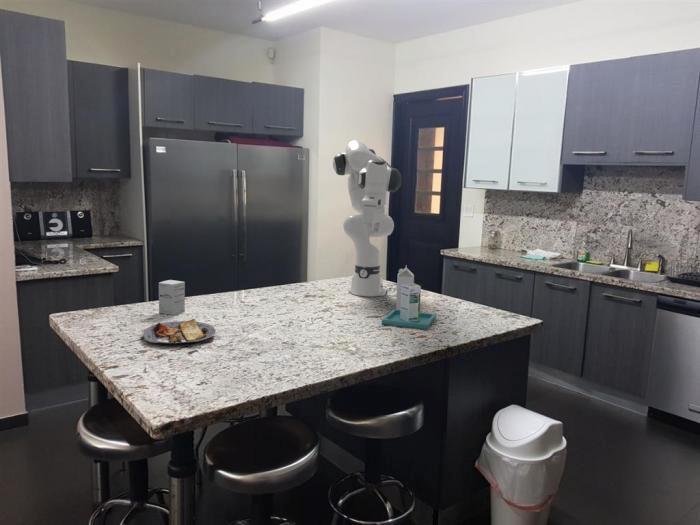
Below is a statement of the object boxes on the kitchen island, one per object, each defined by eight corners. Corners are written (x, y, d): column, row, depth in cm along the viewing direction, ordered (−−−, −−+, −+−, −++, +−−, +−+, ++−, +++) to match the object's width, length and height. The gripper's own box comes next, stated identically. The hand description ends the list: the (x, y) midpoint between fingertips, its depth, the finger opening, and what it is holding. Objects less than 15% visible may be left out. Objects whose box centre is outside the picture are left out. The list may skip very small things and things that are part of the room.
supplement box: (158, 313, 213) (157, 282, 211) (171, 309, 220) (170, 279, 218) (173, 315, 210) (172, 284, 208) (185, 311, 217) (185, 281, 215)
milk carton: (411, 307, 239) (414, 265, 236) (412, 311, 232) (414, 268, 229) (395, 306, 239) (398, 264, 236) (395, 310, 232) (397, 267, 229)
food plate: (142, 328, 192) (141, 319, 191) (208, 324, 201) (208, 315, 200) (145, 352, 169) (145, 341, 168) (219, 346, 178) (220, 336, 178)
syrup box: (407, 322, 211) (409, 286, 208) (399, 318, 216) (401, 283, 214) (419, 321, 213) (421, 285, 211) (411, 317, 218) (413, 282, 216)
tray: (393, 313, 226) (393, 309, 225) (435, 318, 220) (435, 314, 220) (381, 324, 209) (382, 319, 209) (427, 330, 203) (427, 325, 203)
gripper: (374, 198, 230) (373, 230, 232) (360, 200, 211) (359, 235, 213) (389, 199, 228) (387, 231, 230) (376, 201, 209) (374, 236, 211)
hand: (373, 233), depth 222 cm, fingers open, 8 cm apart
